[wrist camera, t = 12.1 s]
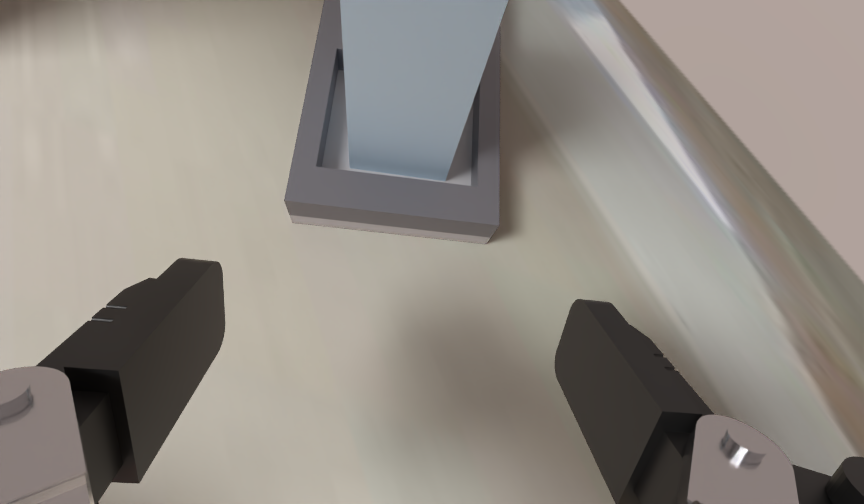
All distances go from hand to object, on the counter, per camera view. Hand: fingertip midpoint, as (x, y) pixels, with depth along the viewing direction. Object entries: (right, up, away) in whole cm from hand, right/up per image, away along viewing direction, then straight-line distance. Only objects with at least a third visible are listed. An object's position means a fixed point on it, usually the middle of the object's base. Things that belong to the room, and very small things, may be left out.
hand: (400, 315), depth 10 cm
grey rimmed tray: (0, +13, +14) cm, 19 cm away
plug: (-1, +7, +11) cm, 13 cm away
